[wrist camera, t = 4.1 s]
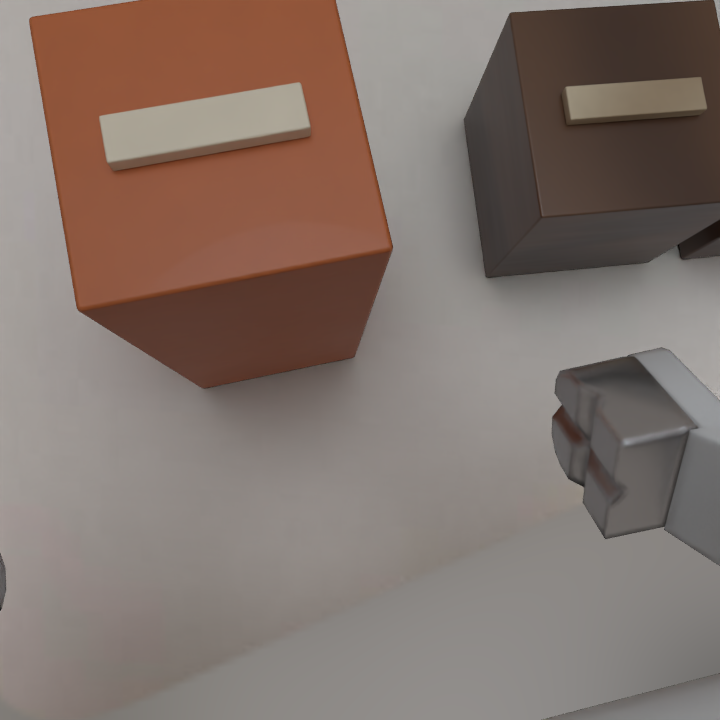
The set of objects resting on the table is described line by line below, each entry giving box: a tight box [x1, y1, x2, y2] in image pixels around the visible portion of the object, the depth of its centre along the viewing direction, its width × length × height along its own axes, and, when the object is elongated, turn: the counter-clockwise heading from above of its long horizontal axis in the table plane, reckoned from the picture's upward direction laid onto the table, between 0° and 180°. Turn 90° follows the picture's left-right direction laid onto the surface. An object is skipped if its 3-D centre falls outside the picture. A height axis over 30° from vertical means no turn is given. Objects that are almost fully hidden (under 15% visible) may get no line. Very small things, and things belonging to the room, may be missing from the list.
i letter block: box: [29, 0, 393, 388], centre depth 14 cm, size 4×4×10 cm
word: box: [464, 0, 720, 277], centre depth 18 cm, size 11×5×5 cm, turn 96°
